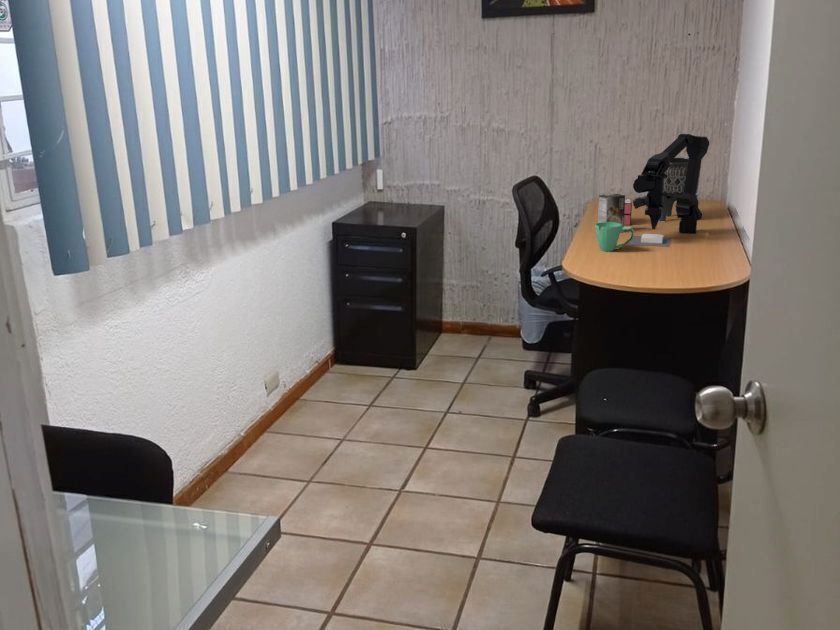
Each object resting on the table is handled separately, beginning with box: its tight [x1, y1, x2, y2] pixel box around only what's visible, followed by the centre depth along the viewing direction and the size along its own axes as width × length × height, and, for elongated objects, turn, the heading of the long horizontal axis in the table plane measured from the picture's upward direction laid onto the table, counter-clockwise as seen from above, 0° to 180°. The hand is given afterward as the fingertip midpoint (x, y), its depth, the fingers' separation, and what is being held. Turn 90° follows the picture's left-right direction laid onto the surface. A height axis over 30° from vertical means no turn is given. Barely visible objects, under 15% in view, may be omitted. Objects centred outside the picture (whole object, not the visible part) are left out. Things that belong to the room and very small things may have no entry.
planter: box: [658, 157, 702, 222], centre depth 363 cm, size 20×20×26 cm
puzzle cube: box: [624, 198, 633, 226], centre depth 361 cm, size 10×10×10 cm
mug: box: [594, 222, 635, 253], centre depth 311 cm, size 15×10×10 cm
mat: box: [626, 235, 673, 248], centre depth 324 cm, size 16×18×1 cm
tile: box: [641, 233, 664, 244], centre depth 323 cm, size 8×2×8 cm
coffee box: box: [597, 193, 626, 233], centre depth 341 cm, size 9×6×16 cm
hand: (653, 229), depth 325 cm, fingers closed
